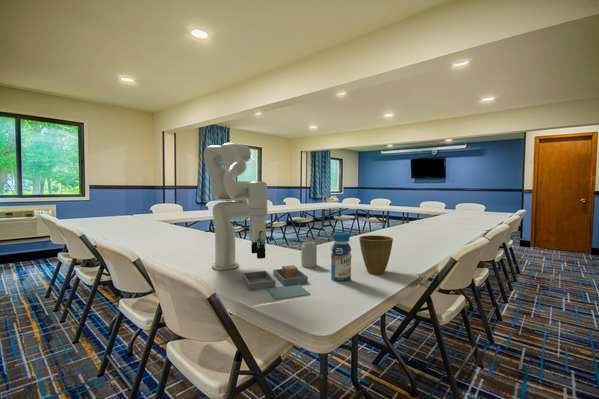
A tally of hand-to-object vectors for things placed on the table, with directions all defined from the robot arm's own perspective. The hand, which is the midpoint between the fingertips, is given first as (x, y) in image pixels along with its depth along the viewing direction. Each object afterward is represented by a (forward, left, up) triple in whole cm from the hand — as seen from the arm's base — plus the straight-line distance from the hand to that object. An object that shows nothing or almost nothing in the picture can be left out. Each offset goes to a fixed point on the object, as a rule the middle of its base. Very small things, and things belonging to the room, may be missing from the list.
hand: (258, 255), depth 113 cm
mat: (+13, +8, -12) cm, 19 cm away
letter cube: (0, +13, -11) cm, 17 cm away
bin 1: (0, 0, -12) cm, 12 cm away
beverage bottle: (+8, +33, -12) cm, 36 cm away
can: (-16, +29, -12) cm, 35 cm away
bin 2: (0, +13, -12) cm, 18 cm away
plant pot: (+3, +54, -12) cm, 55 cm away
